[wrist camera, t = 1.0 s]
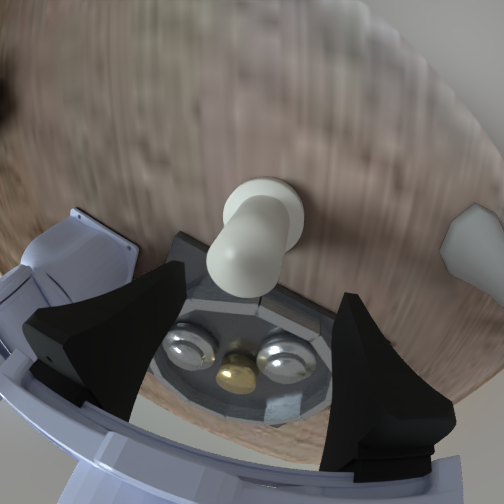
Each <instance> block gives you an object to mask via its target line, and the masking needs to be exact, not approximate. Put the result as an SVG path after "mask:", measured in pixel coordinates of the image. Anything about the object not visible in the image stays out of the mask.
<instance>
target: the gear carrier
mask: <svg viewBox="0 0 504 504" xmlns="http://www.w3.org/2000/svg"><path fill="white" fill-rule="evenodd" d="M209 249H210V247H208V246H206V245H204V244H202V243H201V242H199V241H197V240H195V239H193V238H192V237H190V236H188V235H186V234H184V233H182V232H181V231H179V232H178V234H177V235H176V236H175V238H174V240H173V243H172V246H171V249H170V251H169V254H168V257H167V260H166V263H167V262H169V261H172V260H175V261H180V262H185V277H186V291H187V298H186V301H185V303H184V305H183V308H182V310H181V312H180V314H179V316H178V317H177V319H176V321H175V322H174V324H173V325H172V327H171V329H170V330H169V332H168V333H167V335H166V337H165V338H164V340H163V341H162V343H161V344H160V346H159V348H158V349H157V351H156V353H155V355H154V357H153V359H152V361H151V363H150V365H149V367H148V370H147V371H148V372H150V373H151V374H153V375H155V376H156V378H157V379H158V380H160V381H161V382H162V383H163V384H164V385H165V386H166V387H168V388H169V389H170V390H171V391H172V392H174V393H175V394H176V395H177V396H178V397H180V398H181V399H182V400H183V401H184V402H186V403H188V404H190V405H192V406H194V407H197V408H199V409H201V410H203V411H206V412H208V413H210V414H213V415H215V416H217V417H220V418H222V419H226V420H231V421H237V422H244V423H250V424H258V425H269V426H272V427H275V428H278V427H280V426H282V425H284V424H286V423H289V422H295V421H301V420H305V419H308V418H309V417H311V416H313V415H314V414H316V413H318V412H319V411H321V410H323V409H324V408H326V407H327V406H329V405H331V401H332V360H331V339H332V327H333V324H334V321H335V318H336V314H334V313H332V312H331V311H329V310H327V309H325V308H323V307H321V306H319V305H317V304H315V303H313V302H311V301H309V300H307V299H305V298H304V297H302V296H300V295H298V294H296V293H294V292H292V291H290V290H288V289H286V288H285V287H283V286H281V285H279V284H276V285H275V287H274V288H273V289H272V290H271V291H269V292H268V293H266V294H264V295H262V296H259V297H255V298H242V297H237V296H234V295H231V294H229V293H227V292H226V291H224V290H223V289H221V288H220V287H219V286H218V285H217V284H216V283H215V282H214V281H213V279H212V278H211V276H210V274H209V272H208V269H207V262H206V260H207V253H208V251H209ZM388 342H389V341H388ZM389 344H390V342H389Z"/></svg>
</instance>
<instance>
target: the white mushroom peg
mask: <svg viewBox="0 0 504 504" xmlns="http://www.w3.org/2000/svg"><path fill="white" fill-rule="evenodd" d="M223 222H224V228H223V230H222V231H221V232H220V234H219V235H218V237H217V238H216V240H215V241H214V242H213V244H212V245H211V247H210V249H209V251H208V253H207V260H206V262H207V269H208V272H209V274H210V276H211V278H212V279H213V281H214V282H215V283H216V284H217V285H218V286H219V287H220V288H221V289H223V290H224V291H226V292H227V293H229V294H231V295H234V296H237V297H242V298H255V297H259V296H262V295H264V294H266V293H268V292H269V291H271V290H272V289H273V288H274V287H275V285H276V284H277V282H278V280H279V277H280V272H281V268H282V263H283V258H284V253H285V252H287V251H288V250H290V249H291V248H292V247H293V246H294V245H295V244H296V243H297V242H298V240H299V238H300V237H301V234H302V231H303V227H304V207H303V203H302V201H301V199H300V197H299V195H298V194H297V192H296V191H295V190H294V189H293V188H292V187H291V186H290V185H289V184H287V183H286V182H284V181H282V180H280V179H277V178H273V177H266V176H263V177H255V178H252V179H249V180H247V181H245V182H244V183H242V184H241V185H240V186H239V187H238V188H237V189H236V190H235V191H234V192H233V193H232V194H231V195H230V197H229V198H228V200H227V201H226V204H225V207H224V211H223Z"/></svg>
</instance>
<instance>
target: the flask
mask: <svg viewBox="0 0 504 504" xmlns="http://www.w3.org/2000/svg"><path fill="white" fill-rule="evenodd" d="M439 252H440V254H441V256H442V259H443V261H444V263H445V265H446V268H447V270H448V272H449V274H451V275H453V276H455V277H457V278H459V279H461V280H463V281H465V282H467V283H469V284H471V285H473V286H474V287H476V288H478V289H480V290H481V291H483V292H485V293H486V294H488V295H490V296H491V297H492V298H493V299H495V300H496V301H497V302H498V303H499V304H500V305H501V306H502V307H503V308H504V231H503V229H502V226H501V224H500V222H499V220H498V218H497V216H496V214H495V213H493V212H492V211H490V210H488V209H486V208H484V207H482V206H480V205H478V204H476V203H475V204H473V205H472V206H471V207H470V208H468V209H467V210H466V211H465V212H463V213H462V214H461V215H459V216H458V217H457V218H456V219H454V220H453V221H452V222H451V225H450V227H449V230H448V232H447V234H446V237H445V239H444V241H443V243H442V246H441V248H440V250H439Z"/></svg>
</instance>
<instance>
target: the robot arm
mask: <svg viewBox="0 0 504 504" xmlns="http://www.w3.org/2000/svg"><path fill="white" fill-rule="evenodd" d="M129 246H130V247H131V249H130V247H129ZM138 253H139V249H138V247H137V246H136V245H134V244H133V243H131V242H129V241H128V240H126V239H124V238H123V237H121V236H119V235H118V234H116V233H115V232H113V231H111V230H110V229H108V228H106V227H105V226H103V225H102V224H100V223H99V222H97V221H95V220H94V219H92V218H91V217H89V216H88V215H86V214H84V213H83V212H81V211H80V210H78V209H77V208H72V209H71V214H70V216H69V217H67V218H66V219H64V220H62V221H61V222H59V223H58V224H56V225H54V226H53V227H51V228H50V229H48V230H47V231H45V232H44V233H42V234H41V235H39V236H38V237H36V238H35V239H34V240H33V241H32V242H31V243H30V244H29V246H28V247H27V248H26V250H25V252H24V254H23V256H22V259H21V264H20V265H18V266H17V267H15V268H13V269H12V270H10V271H9V272H8V273H6V274H5V275H4V276H2V277H1V278H0V339H1V341H2V342H3V344H4V345H5V346H6V348H7V349H8V350H9V352H10V353H11V355H10V354H9V352H8V351H7V350H6V348H5V347H4V346H3V344H2V343H1V341H0V401H1V400H2V399H4V400H5V401H6V402H7V403H8V404H9V405H10V406H11V407H12V408H13V409H14V410H15V411H16V412H17V413H18V414H19V415H20V416H21V417H22V418H23V419H24V420H26V421H27V422H28V423H29V424H30V425H31V426H32V427H34V428H35V429H36V430H37V431H38V432H40V433H41V434H42V435H43V436H44V437H46V438H47V439H48V440H50V441H51V442H52V443H53V444H55V445H56V446H57V447H59V448H60V449H62V450H63V451H64V452H66V453H67V454H69V455H70V456H72V457H73V458H74V459H76V460H78V461H79V462H78V465H77V466H76V468H75V470H74V472H73V474H72V475H71V477H70V479H69V481H68V483H67V485H66V487H65V489H64V491H63V493H62V494H61V496H60V499H59V500H58V502H57V504H463V483H462V471H461V461H460V456H459V455H456V456H451V457H447V458H441V459H437V460H434V461H432V462H431V455H433V454H434V452H435V450H434V445H435V444H436V443H438V442H439V441H440V440H441V439H443V438H444V437H445V436H447V435H448V434H449V433H450V432H451V431H452V430H453V428H454V427H455V425H456V417H455V412H454V408H453V404H452V401H450V400H449V399H447V398H446V397H444V396H443V395H442V394H440V393H439V392H437V391H436V390H435V389H433V388H432V387H431V386H430V385H429V384H427V383H426V382H425V381H424V380H423V379H422V378H420V377H419V376H418V375H417V374H416V373H415V372H414V371H413V370H412V369H411V368H410V367H409V366H408V365H407V364H406V363H405V362H404V361H403V359H402V358H401V357H400V356H399V355H398V354H397V352H396V351H395V350H394V349H393V348H392V346H391V345H390V344H389V342H388V341H387V339H386V338H385V337H384V335H383V334H382V332H381V331H380V330H379V328H378V327H377V325H376V323H375V322H374V320H373V319H372V317H371V315H370V314H369V312H368V310H367V309H366V307H365V305H364V304H363V302H362V300H361V299H360V297H359V296H358V294H352V293H346V292H345V293H344V295H343V298H342V301H341V304H340V307H339V310H338V313H337V315H336V318H335V321H334V324H333V327H332V339H331V360H332V401H331V409H330V417H329V424H328V430H327V436H326V441H325V446H324V451H323V455H322V460H321V464H320V468H319V471H309V470H298V469H289V468H282V467H274V466H269V465H263V464H257V463H252V462H247V461H242V460H238V459H233V458H229V457H225V456H221V455H217V454H213V453H210V452H206V451H203V450H200V449H196V448H193V447H190V446H187V445H184V444H181V443H177V442H175V441H172V440H169V439H167V438H164V437H161V436H159V435H156V434H153V433H151V432H149V431H146V430H144V429H142V428H139V427H137V426H134V425H132V424H130V423H128V422H129V419H130V415H131V412H132V409H133V405H134V403H135V400H136V397H137V394H138V392H139V389H140V386H141V384H142V381H143V379H144V377H145V374H146V372H147V370H148V367H149V365H150V363H151V361H152V359H153V357H154V355H155V353H156V351H157V349H158V348H159V346H160V344H161V343H162V341H163V340H164V338H165V337H166V335H167V333H168V332H169V330H170V329H171V327H172V325H173V324H174V322H175V321H176V319H177V317H178V316H179V314H180V312H181V310H182V308H183V305H184V303H185V301H186V298H187V291H186V277H185V262H180V261H175V260H172V261H169V262H167V263H165V264H164V265H162V266H160V267H158V268H156V269H154V270H153V271H151V272H149V273H147V274H145V275H143V276H141V277H140V278H138V279H136V280H134V281H132V278H133V274H134V269H135V265H136V261H137V257H138ZM263 485H265V486H263ZM267 486H271V487H267ZM272 487H277V488H272Z"/></svg>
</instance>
